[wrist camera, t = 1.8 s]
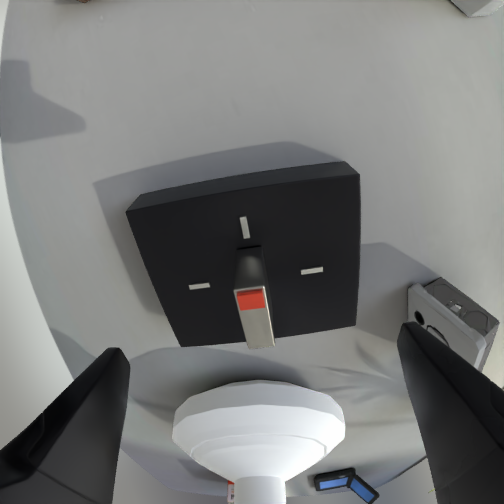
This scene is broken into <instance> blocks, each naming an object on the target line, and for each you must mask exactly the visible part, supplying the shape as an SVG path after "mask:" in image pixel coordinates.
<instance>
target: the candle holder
mask: <svg viewBox="0 0 504 504" xmlns="http://www.w3.org/2000/svg"><path fill="white" fill-rule="evenodd" d="M344 436H345V422H344V417H343V412H342V408H341V407H340V406H339V405H338V404H337V403H336V402H335V401H334V399H333V398H332V397H331V396H330V395H327V394H324V393H320V392H317V391H314V390H310V389H307V388H304V387H300V386H297V385H294V384H291V383H288V382H279V381H269V380H252V381H244V382H235V383H230V384H227V385H224V386H221V387H218V388H215V389H211V390H208V391H206V392H203V393H200V394H197V395H194V396H191V397H189V398H188V399H187V400H186V401H185V402H184V403H183V404H182V405H181V406H180V407H179V408H178V409H177V410H176V411H175V417H174V423H173V436H172V441H173V442H174V443H175V444H177V445H178V446H179V447H180V448H181V449H182V450H183V451H184V452H185V453H187V454H188V455H189V456H190V457H192V458H193V459H194V460H195V461H196V462H197V463H199V464H200V465H202V466H205V467H206V468H207V469H208V470H211V471H213V472H214V473H216V474H218V475H220V476H222V477H224V478H226V479H228V480H230V481H232V482H234V504H286V494H285V481H287V480H289V479H291V478H292V477H294V476H296V475H297V474H299V473H301V472H302V471H304V470H306V469H308V468H309V467H311V466H312V465H313V464H315V463H317V462H319V461H320V460H321V459H322V458H324V457H325V456H326V455H327V454H328V453H329V452H330V451H331V450H332V449H333V448H334V447H335V446H336V445H338V444H339V443H340V442H341V441H342V440H343V439H344Z"/></svg>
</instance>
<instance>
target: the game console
mask: <svg viewBox="0 0 504 504" xmlns="http://www.w3.org/2000/svg"><path fill="white" fill-rule="evenodd" d="M355 471H356V470H355V468H352V469H348V470H343V471H338V472H332V473H327V474H321V475H317V476H315V477H314V482H315V488H316V491H323V490H329V489H334V488H340V487H345V486H347V488H350V489H351V490H352V491H354V492H355V493H356V494H357V495H358V496H360V498H362V499H363V500H364V501H365V502H366V503H368V504H372V503H373V502H374V501H375V500H376V499H377V498H378V497H379V493H378V492H377V491H375V490H374V489H373V488H372V487H371V486H370V485H368V484H367V483H366V482H365V481H364V480H362V479H361V478H360V477H359V476H358V475H356V473H355Z"/></svg>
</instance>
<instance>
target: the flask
mask: <svg viewBox="0 0 504 504" xmlns="http://www.w3.org/2000/svg"><path fill="white" fill-rule="evenodd" d="M451 1H452V2H453V3H454V4H455V5H456V6H457V7H459V8H460V9H461V10H462V11H463V12H464V13H465V14H466V15H467V16H468V17H475V16H487V15H491V14H492V13H494V12H495V11H496V10H497V9H498V8H500V7H501V6H502V5H503V4H504V0H451Z"/></svg>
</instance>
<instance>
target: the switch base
mask: <svg viewBox="0 0 504 504" xmlns="http://www.w3.org/2000/svg"><path fill="white" fill-rule="evenodd" d="M126 215H127V218H128V221H129V224H130V227H131V229H132V232H133V235H134V238H135V240H136V243H137V246H138V248H139V251H140V254H141V256H142V259H143V261H144V264H145V266H146V269H147V271H148V274H149V276H150V279H151V281H152V284H153V286H154V288H155V291H156V293H157V296H158V298H159V300H160V303H161V305H162V307H163V309H164V312H165V314H166V316H167V318H168V321H169V323H170V325H171V327H172V329H173V331H174V334H175V336H176V338H177V340H178V342H179V344H180V346H181V347H190V346H204V345H216V344H227V343H238V342H247V341H246V337H245V334H244V330H243V326H242V322H241V319H240V315H239V311H238V307H237V303H236V299H235V295H234V291H233V289H234V274H235V261H236V251H237V250H240V249H247V248H254V247H262V249H263V255H264V260H265V266H266V272H267V278H268V284H269V290H270V296H271V302H272V314H273V325H274V338H280V337H288V336H295V335H302V334H309V333H315V332H321V331H327V330H333V329H339V328H345V327H350V326H355V325H356V316H357V303H358V288H359V269H360V237H361V197H360V174H359V173H358V172H357V171H355V170H354V169H353V168H352V167H351V166H350V165H349V164H348V163H346V162H345V161H343V162H333V163H324V164H315V165H307V166H299V167H291V168H283V169H276V170H269V171H262V172H256V173H249V174H243V175H237V176H231V177H225V178H219V179H214V180H208V181H203V182H198V183H193V184H187V185H182V186H178V187H173V188H168V189H163V190H159V191H154V192H150V193H145V194H141V195H140V196H139V197H138V198H137V199H136V200H135V201H134V203H133V204H132V205H131V206H130V207H129V208H128V209H127V211H126Z"/></svg>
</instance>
